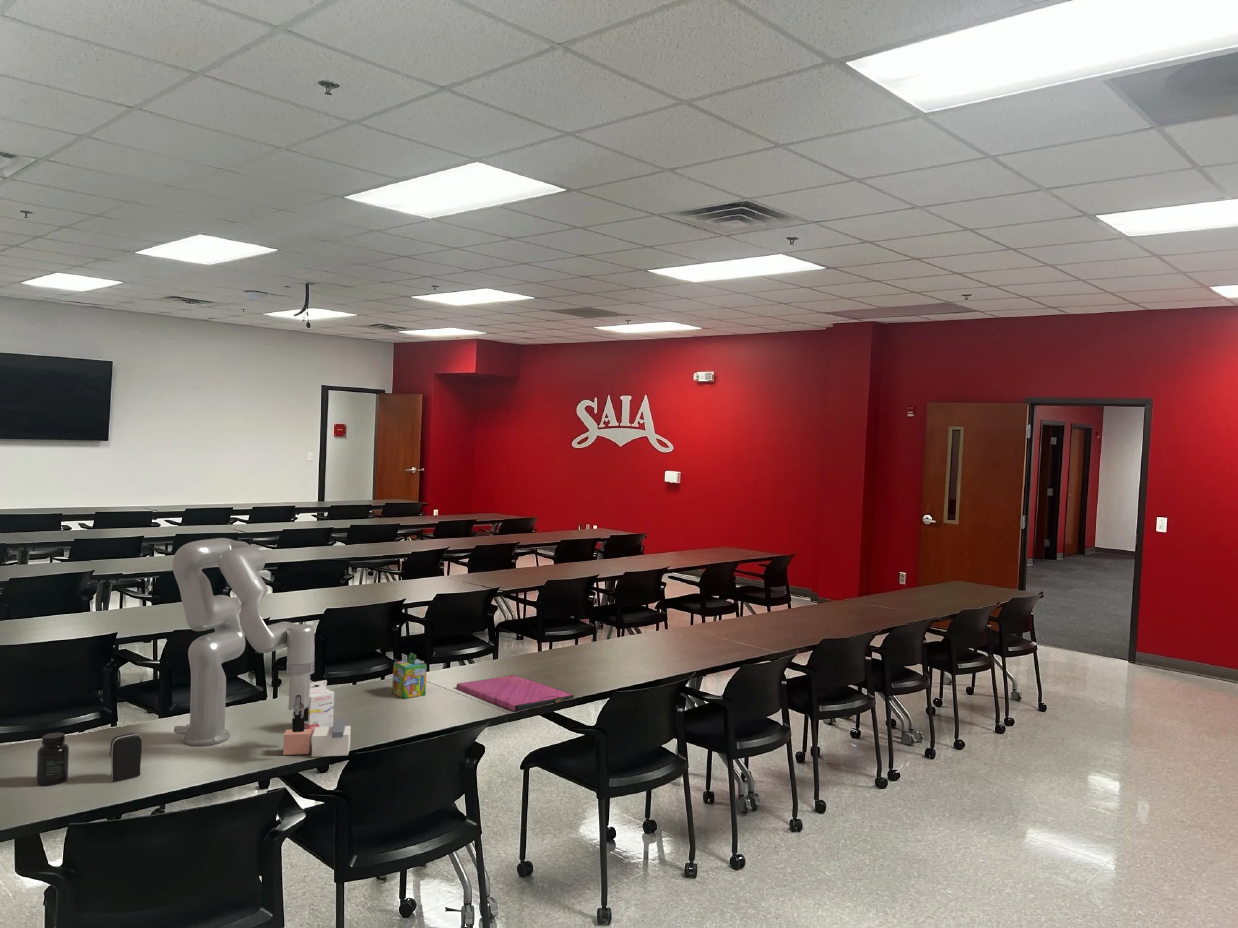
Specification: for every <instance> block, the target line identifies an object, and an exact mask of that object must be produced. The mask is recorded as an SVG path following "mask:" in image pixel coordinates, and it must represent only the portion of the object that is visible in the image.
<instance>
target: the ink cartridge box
mask: <svg viewBox="0 0 1238 928" xmlns="http://www.w3.org/2000/svg"><path fill="white" fill-rule="evenodd" d="M327 684H328V681H327V679H325V680H318V681H313V682H310V699H309V703H308V721H304V729H311V734H313V733H314V730H315V727H332V726H334V711H335V710H334V709H335V708H334V707H335V691H333V690H330V689H328V688H327ZM315 686H316V687H315Z"/></svg>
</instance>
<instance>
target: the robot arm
mask: <svg viewBox="0 0 1238 928" xmlns="http://www.w3.org/2000/svg"><path fill="white" fill-rule="evenodd" d="M265 565H266V555H264V553H263V551H262V550H261V549H260V548H258V547H257V546H255V545H252V544H249V543H245V542H241V541H238V540H235V539H234V540H233V539H231V538H227V537H216V538H209V539H200V540H195V541H190V542H187V543H185V544H183V545H182V546H181V547H179V548H178V549H177V551H176V552H175V553H174V556H173V558H172V571H173V574H174V578H175V580H176V584H177V585H178V588H179V592H180V599H181V602H182V607H183V610H184V616H185V620H186V623H187V625H188V628H190V630H192V631H195V632H202V631H203V632H204V631H207V630H211V629H214V631H213V632H211V633H208V634H204V635H201V636H199V637H198V638H196V639H195V640H193V641H192V642H191V644H190V645H189V647H188V652H187V655H188V661H189V662H188V663H189V667H190V703H189V704H190V710H189V711H190V712H189V723H188V724H186V725H175V726H174V728H173V732H174V733H175V734H176V735H183V742H184V743H185V744H186V745H189V746H196V747H197V746H198V747H199V746H201V747H202V746H210V745H211V746H212V745H216V744H220V743H223V742H225V741H228V739H229V738H230V737H231V732H230V731H229V730H228V729H225V726H226V699H227V697H226V695H227V677H226V674H225V671H224V669H223V666H222V664H223V663H225V662H229V661H231V660H235V659H237V658H239V657H240V656H241V655H242V654H243V653H244V651H245V648H246V640H247V641H248V643H249V644H250V646H251V647H252V648H253V649H254V650H255V651H256V652H257V653H260V654H268V653H272V652H275V651H278V650H281V649H285V648H286V675H287V676H289V689H288V690H289V691H288V710H289V711H292V710H293V712H292V718H291V721H292V722H291V723H292V724H291V728H292V729H291V730H292V732H303V731H304V721H308V703H309V699H310V683H311V675H312V674H314V673H315V628H314V626H313V625H310V624H305V623H304V624H303V623H302V624H301V623H300V624H297V623H293V622H291V621H280V622H277V623H272V624H269V625H267V624H266V623H265V621H264V619H263V618H262V616H261V613H260V603H261V601H262V599H264V597H265V596H266V594H267V593H268V591H269V590H268V585H267V584H266V583H265V581H264V580H263V578H262V576H261V575H260V572H261V571H262V570H264V567H265ZM214 567H219V570H220V572H221V574H222V575H223V577H224V579H225V581H226V582H227V583H228V585H229V587H230V589H231V590H232V591H233V594H234V596H235V597H236V599H237V600H238V602H239V608H238V605H237V603H236V602H235V600H234V599H233V598H232V597H230V596H228V595H226V594H218V595H214V593H213V589H212V585H211V582H210V581H211V580H210V579H209V578H208V576H207V575H206V574H205V573H204V572H203V571H202V570H203V569H208V568H214Z"/></svg>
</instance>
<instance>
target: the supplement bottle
mask: <svg viewBox="0 0 1238 928" xmlns="http://www.w3.org/2000/svg"><path fill="white" fill-rule="evenodd" d="M65 737H66V736H65V733H63V732H51V733H47V734H44V735H43V736H42V739H41V740H42V741H41V746H40V747H39V748H38V750H37V756H36V784H37V785H38V786H41V787H43V786H44V787H49V786H50V787H51V786H55V785H60V784H61V783H64V782H65V781H67V780H68V778H69V760H70V759H69V758H70V757H69V753H70V752H69V748H70V747H69V744H67V743H65V741H66V739H65Z"/></svg>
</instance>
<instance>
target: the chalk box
mask: <svg viewBox="0 0 1238 928" xmlns="http://www.w3.org/2000/svg"><path fill="white" fill-rule="evenodd" d="M411 657H412V659H411ZM427 666H428V665H427V663H424V662H423V661H421V660H419V659H417V654H414V653H413V652H410V653H409V654H408V657H407V660H399V661H394V662H393V670H392V686H391V693H392V694H394V695H396V696H397V697H399V698H401V699H403V700H405V699H409V698H410V699H411V698H415V697H422V696H426V689H427V671H428V670H427V668H428V667H427Z"/></svg>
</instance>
